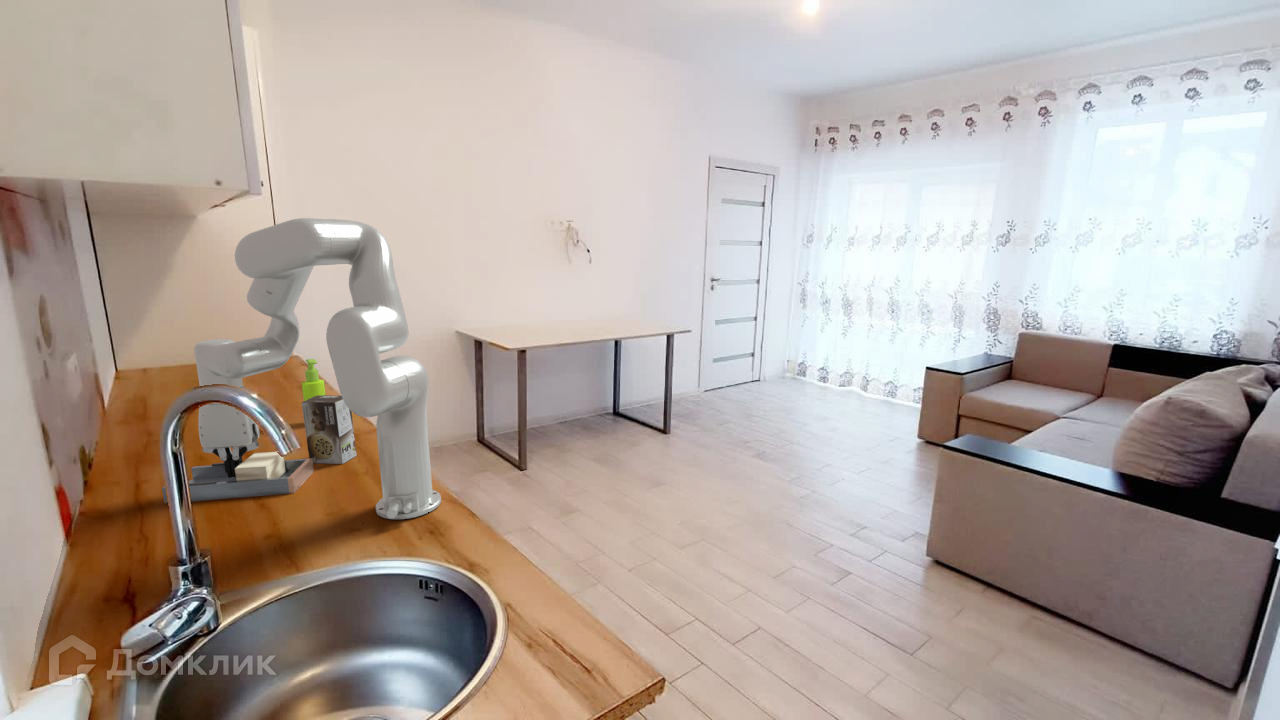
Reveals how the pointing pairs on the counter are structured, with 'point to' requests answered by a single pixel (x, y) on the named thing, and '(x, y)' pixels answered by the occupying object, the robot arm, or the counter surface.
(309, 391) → the soap dispenser
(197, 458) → the counter surface
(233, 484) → the grey shallow rectangular tray
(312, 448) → the coffee box
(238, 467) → the block
